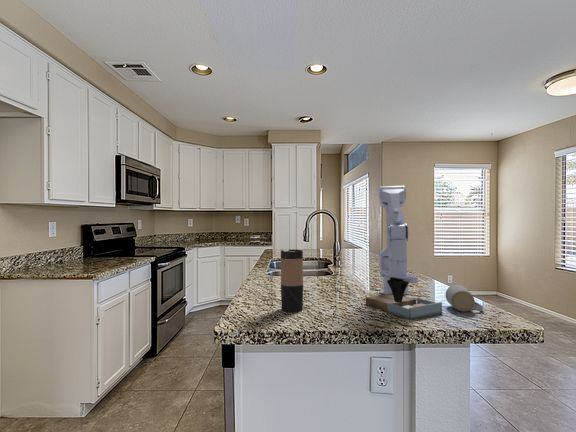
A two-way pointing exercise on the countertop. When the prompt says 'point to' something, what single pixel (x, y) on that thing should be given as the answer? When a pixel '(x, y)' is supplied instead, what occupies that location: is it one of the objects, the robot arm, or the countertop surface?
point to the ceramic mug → (461, 299)
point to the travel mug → (292, 280)
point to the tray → (416, 309)
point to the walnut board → (388, 301)
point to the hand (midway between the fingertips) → (398, 301)
